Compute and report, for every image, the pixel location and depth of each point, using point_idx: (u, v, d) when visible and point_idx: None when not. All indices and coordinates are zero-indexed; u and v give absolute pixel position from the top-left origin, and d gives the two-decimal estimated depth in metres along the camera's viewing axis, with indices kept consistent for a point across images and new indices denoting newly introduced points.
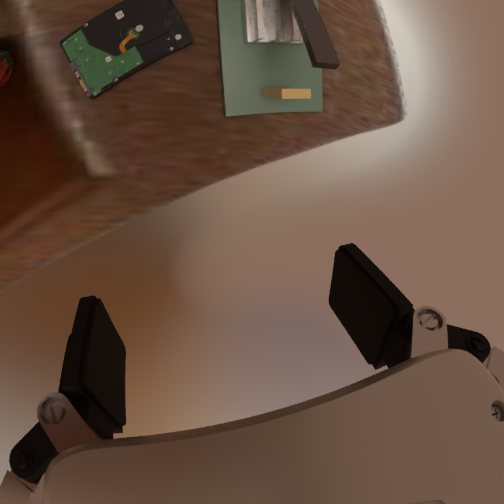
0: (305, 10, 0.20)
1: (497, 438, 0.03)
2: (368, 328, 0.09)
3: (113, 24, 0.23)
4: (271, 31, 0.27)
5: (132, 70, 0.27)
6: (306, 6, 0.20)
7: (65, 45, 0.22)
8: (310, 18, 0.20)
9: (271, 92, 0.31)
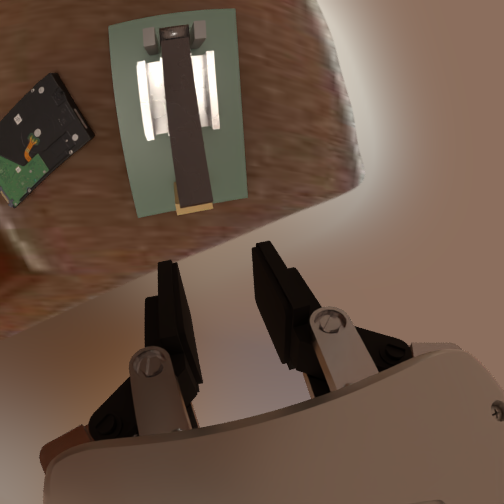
0: (179, 113, 0.19)
1: (497, 438, 0.03)
2: (276, 326, 0.10)
3: (14, 131, 0.22)
4: None
5: (41, 179, 0.26)
6: (182, 104, 0.19)
7: None
8: (183, 127, 0.19)
9: None
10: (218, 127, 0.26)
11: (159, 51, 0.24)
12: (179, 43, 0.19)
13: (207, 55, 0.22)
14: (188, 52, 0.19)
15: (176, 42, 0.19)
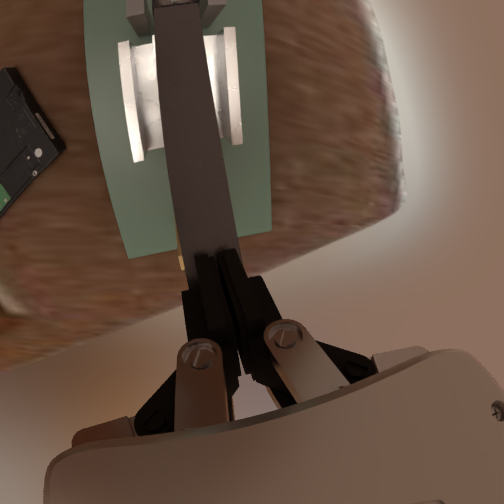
0: (183, 126, 0.11)
1: (497, 438, 0.03)
2: (237, 336, 0.09)
3: None
4: None
5: (3, 210, 0.18)
6: (188, 110, 0.11)
7: None
8: (191, 151, 0.11)
9: None
10: (240, 142, 0.18)
11: (153, 31, 0.16)
12: (182, 12, 0.11)
13: (225, 33, 0.14)
14: (197, 24, 0.11)
15: (178, 10, 0.11)
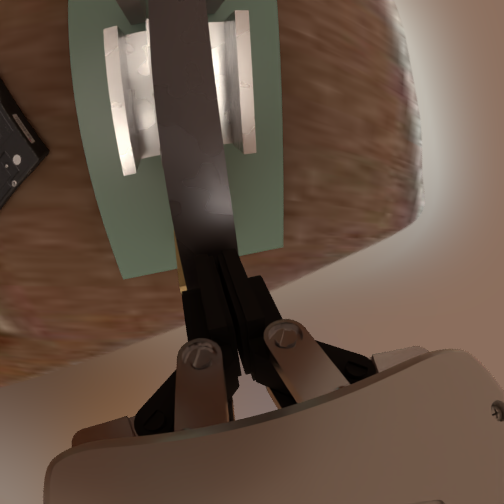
0: (184, 149, 0.10)
1: (497, 438, 0.03)
2: (237, 336, 0.09)
3: None
4: None
5: None
6: (190, 129, 0.10)
7: None
8: (193, 179, 0.11)
9: None
10: (253, 150, 0.15)
11: (148, 17, 0.13)
12: None
13: (236, 17, 0.10)
14: (202, 13, 0.09)
15: None
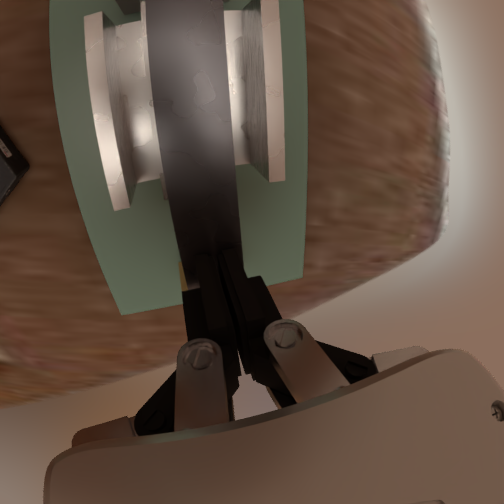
0: (192, 178, 0.09)
1: (497, 438, 0.03)
2: (237, 336, 0.09)
3: None
4: None
5: None
6: (199, 156, 0.09)
7: None
8: (202, 211, 0.10)
9: None
10: (281, 177, 0.12)
11: None
12: None
13: (262, 2, 0.07)
14: (216, 3, 0.06)
15: None
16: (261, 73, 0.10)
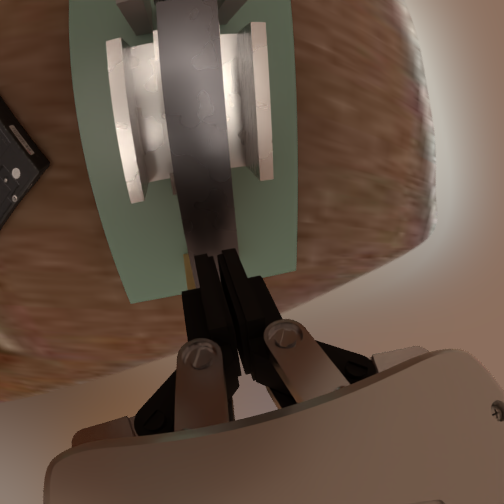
0: (196, 176, 0.12)
1: (497, 438, 0.03)
2: (237, 336, 0.09)
3: None
4: None
5: None
6: (201, 158, 0.11)
7: None
8: (204, 202, 0.12)
9: None
10: (270, 176, 0.14)
11: (154, 28, 0.12)
12: (195, 10, 0.08)
13: (252, 30, 0.10)
14: (214, 34, 0.09)
15: (190, 7, 0.08)
16: (252, 90, 0.12)
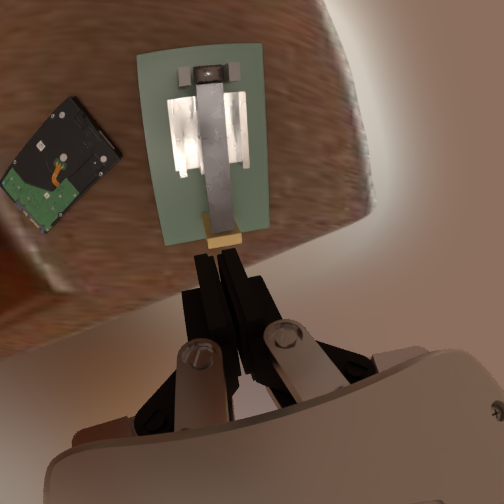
0: (213, 165, 0.26)
1: (497, 438, 0.03)
2: (237, 336, 0.09)
3: (38, 157, 0.25)
4: (198, 159, 0.29)
5: (72, 203, 0.29)
6: (216, 157, 0.26)
7: (5, 185, 0.25)
8: (216, 177, 0.27)
9: (204, 229, 0.33)
10: (248, 166, 0.29)
11: (188, 85, 0.27)
12: (213, 90, 0.23)
13: (239, 96, 0.25)
14: (222, 102, 0.24)
15: (211, 88, 0.23)
16: (239, 125, 0.27)
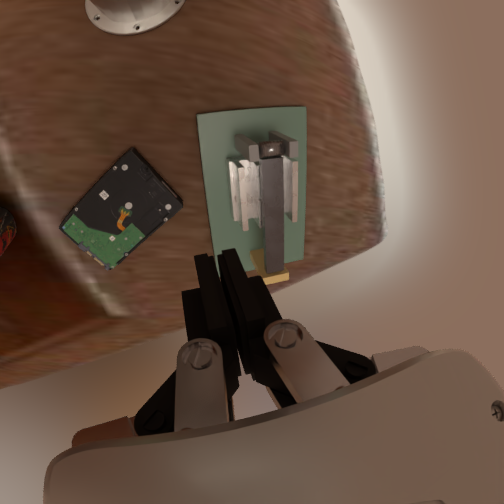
0: (272, 223, 0.34)
1: (497, 438, 0.03)
2: (237, 336, 0.09)
3: (102, 205, 0.33)
4: (255, 214, 0.36)
5: (138, 244, 0.37)
6: (274, 217, 0.34)
7: (66, 230, 0.33)
8: (273, 232, 0.35)
9: (255, 266, 0.41)
10: (296, 220, 0.37)
11: None
12: (275, 164, 0.30)
13: (293, 165, 0.32)
14: (281, 173, 0.31)
15: (273, 162, 0.30)
16: (291, 187, 0.34)
